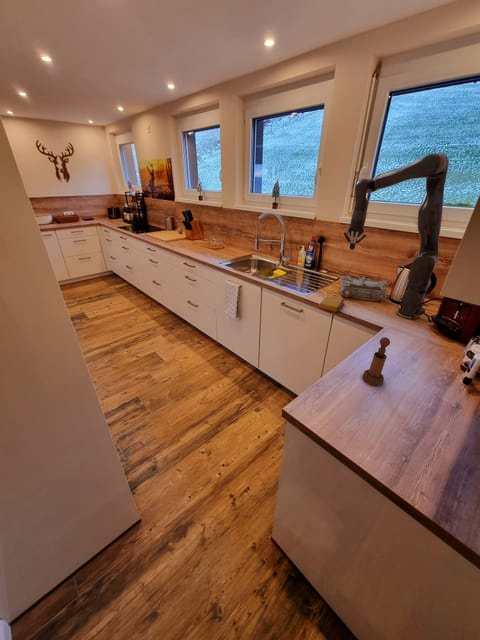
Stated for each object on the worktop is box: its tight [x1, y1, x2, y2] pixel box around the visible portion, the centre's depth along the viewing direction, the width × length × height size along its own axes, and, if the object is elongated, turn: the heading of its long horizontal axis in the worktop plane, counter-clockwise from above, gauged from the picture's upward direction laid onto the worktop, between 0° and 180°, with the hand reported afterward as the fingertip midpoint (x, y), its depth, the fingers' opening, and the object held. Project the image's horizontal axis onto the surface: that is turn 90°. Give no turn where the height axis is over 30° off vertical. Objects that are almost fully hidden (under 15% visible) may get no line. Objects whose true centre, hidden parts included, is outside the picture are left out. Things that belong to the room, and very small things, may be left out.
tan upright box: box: [318, 294, 345, 313], centre depth 150 cm, size 10×3×14 cm
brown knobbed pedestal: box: [362, 336, 391, 387], centre depth 91 cm, size 7×6×18 cm
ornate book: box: [338, 274, 390, 303], centre depth 163 cm, size 23×10×30 cm
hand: (351, 249), depth 157 cm, fingers closed
